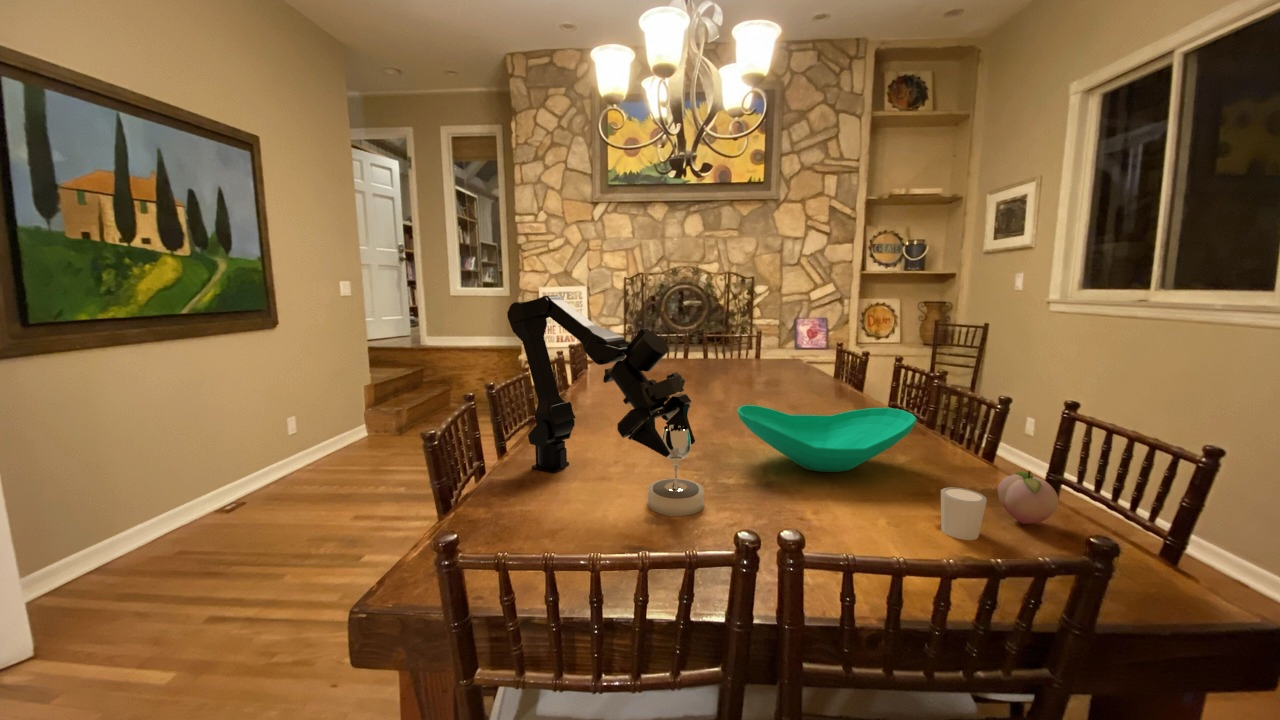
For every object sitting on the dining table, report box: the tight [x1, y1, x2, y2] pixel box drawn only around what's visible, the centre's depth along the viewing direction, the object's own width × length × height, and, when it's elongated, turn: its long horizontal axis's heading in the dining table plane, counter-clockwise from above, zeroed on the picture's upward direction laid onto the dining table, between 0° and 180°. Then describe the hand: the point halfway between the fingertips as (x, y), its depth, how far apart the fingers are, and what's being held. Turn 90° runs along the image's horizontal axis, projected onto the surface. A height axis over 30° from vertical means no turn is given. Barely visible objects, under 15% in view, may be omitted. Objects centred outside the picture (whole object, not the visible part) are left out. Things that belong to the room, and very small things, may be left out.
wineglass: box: [661, 425, 692, 492], centre depth 102 cm, size 6×6×12 cm
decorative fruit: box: [997, 470, 1059, 525], centre depth 95 cm, size 9×8×10 cm
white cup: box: [940, 486, 987, 541], centre depth 92 cm, size 7×7×7 cm
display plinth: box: [647, 478, 705, 517], centre depth 103 cm, size 11×11×3 cm
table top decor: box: [736, 404, 918, 473], centre depth 123 cm, size 40×28×13 cm
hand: (681, 449), depth 101 cm, fingers open, 9 cm apart
